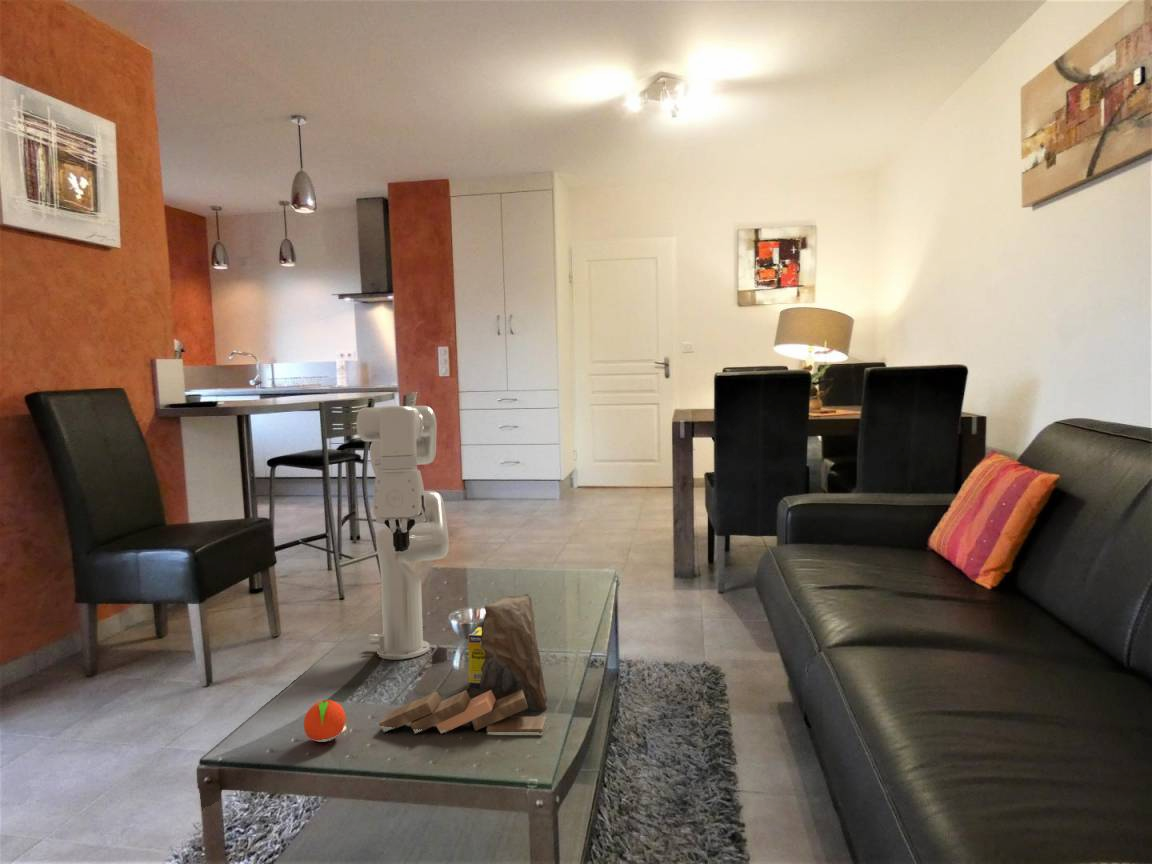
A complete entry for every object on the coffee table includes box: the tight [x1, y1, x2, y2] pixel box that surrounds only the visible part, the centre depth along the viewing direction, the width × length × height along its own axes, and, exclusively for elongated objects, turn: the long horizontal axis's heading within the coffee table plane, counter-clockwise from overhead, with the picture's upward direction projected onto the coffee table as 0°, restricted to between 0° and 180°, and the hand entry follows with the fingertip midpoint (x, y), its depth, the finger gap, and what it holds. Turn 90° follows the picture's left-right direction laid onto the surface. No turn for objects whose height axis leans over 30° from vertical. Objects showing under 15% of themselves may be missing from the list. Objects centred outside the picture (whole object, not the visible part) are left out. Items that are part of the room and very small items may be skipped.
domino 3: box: [435, 690, 496, 731], centre depth 120 cm, size 2×5×10 cm
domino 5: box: [485, 715, 548, 734], centre depth 119 cm, size 2×5×10 cm
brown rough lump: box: [480, 593, 548, 713], centre depth 132 cm, size 13×13×20 cm
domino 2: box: [409, 689, 472, 731], centre depth 120 cm, size 2×5×10 cm
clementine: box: [303, 699, 347, 740], centre depth 116 cm, size 8×7×7 cm
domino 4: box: [471, 690, 528, 732], centre depth 121 cm, size 2×5×10 cm
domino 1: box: [379, 691, 442, 729], centre depth 121 cm, size 2×5×10 cm
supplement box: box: [467, 626, 485, 688], centre depth 142 cm, size 6×6×11 cm
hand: (401, 550), depth 141 cm, fingers closed
